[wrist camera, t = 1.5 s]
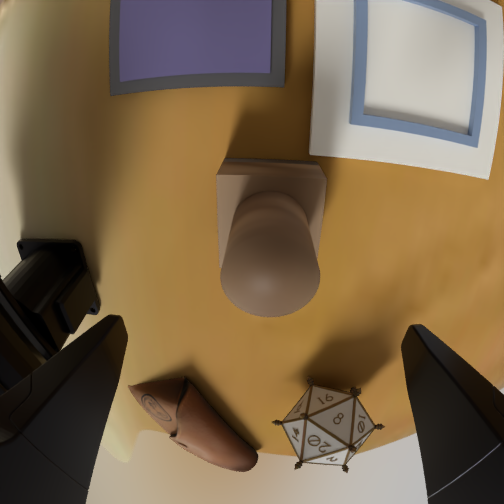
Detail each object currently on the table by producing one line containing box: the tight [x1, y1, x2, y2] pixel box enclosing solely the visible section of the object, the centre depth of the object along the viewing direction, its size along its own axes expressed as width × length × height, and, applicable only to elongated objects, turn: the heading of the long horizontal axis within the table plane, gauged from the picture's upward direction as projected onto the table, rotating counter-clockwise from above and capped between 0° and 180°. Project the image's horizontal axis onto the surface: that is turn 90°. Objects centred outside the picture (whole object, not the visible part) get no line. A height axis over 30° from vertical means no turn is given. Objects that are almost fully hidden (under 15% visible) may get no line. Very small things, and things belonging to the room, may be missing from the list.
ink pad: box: [109, 0, 286, 96], centre depth 12 cm, size 9×9×1 cm
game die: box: [272, 376, 385, 473], centre depth 23 cm, size 9×8×10 cm
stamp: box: [216, 158, 327, 317], centre depth 15 cm, size 5×5×8 cm
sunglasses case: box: [128, 376, 258, 472], centre depth 30 cm, size 18×7×7 cm
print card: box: [309, 0, 504, 180], centre depth 13 cm, size 12×12×1 cm
